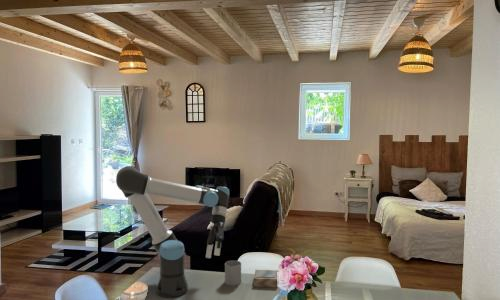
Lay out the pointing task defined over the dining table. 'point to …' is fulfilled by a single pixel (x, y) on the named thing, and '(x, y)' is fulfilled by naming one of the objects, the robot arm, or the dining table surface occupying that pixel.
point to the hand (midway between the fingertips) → (212, 256)
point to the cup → (233, 273)
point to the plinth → (265, 278)
